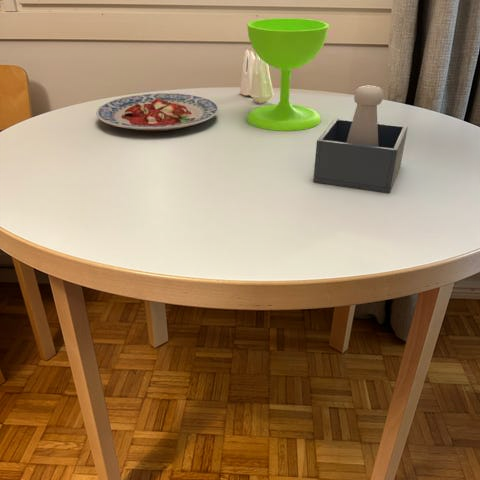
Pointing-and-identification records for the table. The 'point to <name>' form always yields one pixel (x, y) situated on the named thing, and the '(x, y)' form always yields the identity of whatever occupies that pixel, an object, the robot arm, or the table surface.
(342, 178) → the tub
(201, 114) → the ceramic plate
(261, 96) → the shaker set
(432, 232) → the table surface
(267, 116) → the wineglass
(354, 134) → the salt shaker
